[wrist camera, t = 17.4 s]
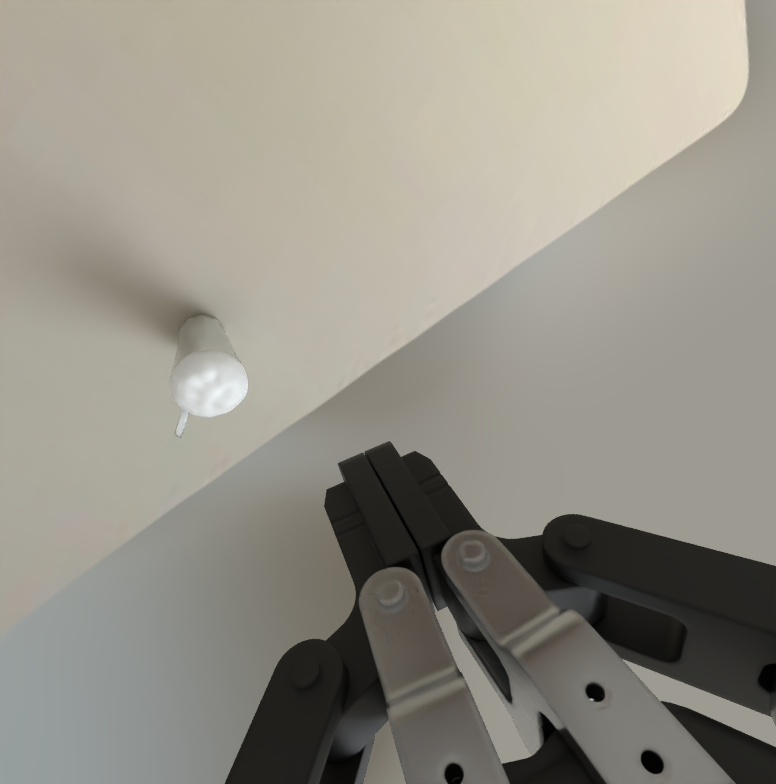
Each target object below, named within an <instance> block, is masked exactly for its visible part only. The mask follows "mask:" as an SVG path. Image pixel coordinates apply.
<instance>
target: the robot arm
mask: <svg viewBox="0 0 776 784" xmlns="http://www.w3.org/2000/svg"><path fill="white" fill-rule="evenodd" d="M338 466H339V469H340V472H341V474H342V477H343V480H344V482H343V483H341V484H338V485H336V486H334V487H332V488H329V489H327V492H326V498H325V505H324V507H325V509H326V512H327V515H328V517H329V520H330V522H331V525H332V527H333V530H334V533H335V535H336V537H337V540H338V543H339V545H340V548H341V551H342V553H343V556H344V558H345V561H346V564H347V566H348V569H349V571H350V574H351V577H352V579H353V582H354V585H355V589H356V600H355V605H354V607H353V610H352V612H351V614H350V616H349V617H348V619H347V620H346V622H345V623H344V624H343V625H342V626H341V627H340V628H339V629H338V630H337V631H336V632H335V633H334V634H332V636H330V637H329V638H328V639H327V640H326V641H324V640H320V639H309V640H306V641H303V642H300V643H298V644H297V645H295V646H293V647H292V648H291V649H289V650H288V651H287V652H286V653H285V654H284V655H283V657H282V658H281V659H280V661H279V662H278V664H277V666H276V668H275V670H274V673H273V675H272V677H271V680H270V682H269V684H268V686H267V688H266V691H265V693H264V696H263V698H262V700H261V702H260V704H259V707H258V709H257V711H256V713H255V716H254V718H253V720H252V723H251V725H250V727H249V729H248V732H247V734H246V736H245V739H244V741H243V743H242V745H241V748H240V750H239V752H238V755H237V757H236V759H235V761H234V764H233V766H232V768H231V770H230V773H229V775H228V777H227V779H226V782H225V784H363V781H364V777H365V774H366V770H367V766H368V762H369V758H370V755H371V751H372V747H373V743H374V738H375V734H376V733H377V732H378V731H379V730H380V728H381V727H382V726H383V725H384V724H385V723H386V722H387V721H388V720H389V723H390V727H391V730H392V734H393V738H394V742H395V745H396V749H397V752H398V756H399V759H400V763H401V767H402V770H403V774H404V777H405V781H406V784H776V747H774V746H772V745H770V744H767V743H765V742H763V741H761V740H758V739H756V738H754V737H752V736H749V735H747V734H745V733H743V732H741V731H738V730H736V729H734V728H732V727H729V726H727V725H725V724H722V723H720V722H718V721H716V720H713V719H711V718H709V717H707V716H705V715H702V714H700V713H698V712H696V711H693V710H691V709H688V708H686V707H682V706H679V705H676V704H673V703H668V702H664V701H659V700H658V698H657V697H656V696H655V695H654V694H653V693H652V692H651V691H650V690H649V689H648V687H647V686H646V685H645V684H644V683H643V682H642V681H641V680H640V679H639V678H638V677H637V676H636V674H635V673H634V672H633V671H632V670H631V669H630V668H629V667H628V666H627V664H626V663H625V662H623V660H622V659H624V660H627V661H629V662H632V663H635V664H637V665H640V666H642V667H645V668H648V669H650V670H653V671H655V672H658V673H660V674H663V675H665V676H668V677H670V678H673V679H676V680H678V681H681V682H683V683H686V684H688V685H691V686H694V687H696V688H699V689H701V690H704V691H706V692H709V693H711V694H714V695H716V696H719V697H722V698H724V699H727V700H729V701H732V702H734V703H737V704H739V705H742V706H745V707H747V708H750V709H752V710H755V711H757V712H760V713H762V714H765V715H768V716H770V717H772V719H773V721H774V723H775V725H776V566H773V565H769V564H766V563H762V562H758V561H754V560H751V559H747V558H743V557H739V556H735V555H732V554H728V553H724V552H720V551H716V550H713V549H709V548H705V547H701V546H697V545H694V544H690V543H686V542H682V541H678V540H674V539H671V538H667V537H663V536H659V535H656V534H652V533H648V532H644V531H640V530H637V529H633V528H629V527H625V526H622V525H618V524H614V523H610V522H606V521H602V520H599V519H595V518H591V517H587V516H583V515H577V514H576V515H575V514H568V515H563V516H559V517H557V518H555V519H553V520H552V521H551V522H550V523H548V524H547V526H546V527H545V529H544V531H543V535H539V536H532V537H526V538H519V539H505V538H500V537H496V536H494V535H492V534H490V533H488V532H486V531H484V530H483V529H482V528H481V527H480V526H479V525H478V524H477V522H476V521H475V519H474V518H473V517H472V515H471V514H470V513H469V511H468V510H467V509H466V507H465V506H464V505H463V503H462V502H461V500H460V499H459V498H458V496H457V495H456V494H455V492H454V491H453V490H452V488H451V487H450V486H449V485H448V483H447V481H446V480H445V479H444V477H443V476H442V475H441V474H440V472H439V470H438V469H437V468H436V466H435V465H434V464H433V462H432V461H431V459H429V458H427V457H425V456H423V455H421V454H420V453H418V452H416V451H414V452H411V453H409V454H407V455H405V456H403V457H400V455H399V454H398V452H397V451H396V449H395V448H394V446H393V445H392V443H391V442H390V441H388V442H386V443H384V444H381V445H379V446H377V447H374V448H372V449H369V450H367V451H365V455H364V453H360V454H358V455H356V456H354V457H351V458H349V459H346V460H344V461H342V462H339V463H338ZM432 601H433V602H432ZM433 603H434V605H435V607H436V609H437V610H438V611H439V610H441V609H443V608H445V607H447V606H448V608H449V610H450V612H451V613H452V615H453V617H454V619H455V621H456V624H457V628H458V631H459V635H460V637H461V639H462V640H463V642H464V643H465V645H466V646H467V648H468V650H469V651H470V653H471V654H472V656H473V657H474V659H475V660H476V662H477V663H478V665H479V667H480V668H481V670H482V671H483V673H484V674H485V676H486V677H487V679H488V680H489V682H490V684H491V685H492V687H493V688H494V690H495V691H496V693H497V694H498V696H499V697H500V699H501V701H502V702H503V704H504V705H505V707H506V708H507V710H508V712H509V713H510V715H511V717H512V719H513V721H514V724H515V726H516V728H517V730H518V732H519V734H520V736H521V739H522V740H523V742H524V744H525V746H526V747H527V749H528V751H529V753H530V754H531V757H529V758H526V759H522V760H517V761H513V762H508V763H503V764H501V762H500V759H499V757H498V755H497V752H496V750H495V748H494V745H493V743H492V741H491V738H490V736H489V734H488V731H487V729H486V726H485V724H484V722H483V719H482V717H481V715H480V713H479V710H478V708H477V705H476V703H475V701H474V698H473V696H472V694H471V691H470V689H469V687H468V685H467V683H466V680H465V678H464V676H463V675H462V673H461V672H460V671H459V669H458V667H457V665H456V662H455V660H454V658H453V656H452V653H451V651H450V649H449V646H448V644H447V641H446V639H445V637H444V634H443V632H442V629H441V627H440V625H439V623H438V620H437V618H436V615H435V609H434V606H433ZM621 658H622V659H621Z"/></svg>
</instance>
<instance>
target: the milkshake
mask: <svg viewBox="0 0 776 784" xmlns="http://www.w3.org/2000/svg"><path fill="white" fill-rule="evenodd" d="M247 390H248V379H247V375H246V372H245V369H244V367H243V366H242V364H241V362H240V360H239V358H238V357H237V355H236V353H235V351H234V349H233V347H232V344H231V342H230V340H229V338H228V336H227V334H226V332H225V330H224V329H223V327H222V326H221V324H220V323H219V321H218V320H217V319H214V318H212V317H209V316H206V315H199V316H194V317H189V318H188V320H187V321H186V322H185V323H184V324H183V325H182V326H181V327H180V330H179V337H178V344H177V350H176V356H175V360H174V364H173V369H172V373H171V376H170V392H171V395H172V398H173V399H174V401H175V402H176V403H177V404H178V405H179V406H180V407H181V408H182V412H181V415H180V418H179V421H178V424H177V427H176V430H175V435H176V436H177V437H179V438H181V437H182V434H183V431H184V427H185V424H186V421H187V418H188V414H189V413H191V414H194V415H197V416H201V417H214V416H219V415H222V414H225V413H227V412H229V411H231V410H232V409H234V408H235V407H236V406H237V405H238V404H239V403H240V402H241V401H242V400H243V399H244V397H245V395H246V393H247Z"/></svg>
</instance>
